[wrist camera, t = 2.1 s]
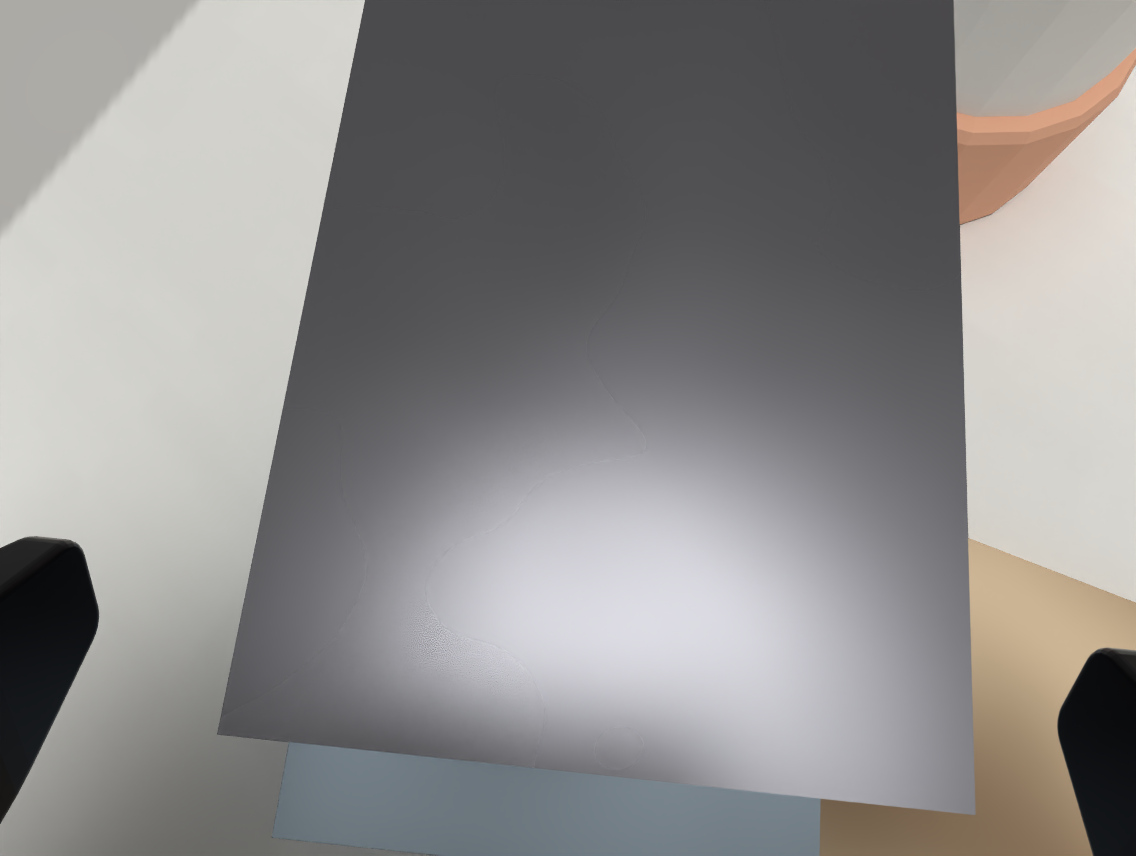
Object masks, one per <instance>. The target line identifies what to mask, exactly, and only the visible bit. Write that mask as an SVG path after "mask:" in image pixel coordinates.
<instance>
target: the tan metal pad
mask: <svg viewBox="0 0 1136 856" xmlns="http://www.w3.org/2000/svg"><path fill="white" fill-rule="evenodd" d="M968 554H969V591H970V628H971V665H972V702H973V739H974V777H975V814H976V815H970V814H960V813H951V812H942V811H932V810H923V809H913V808H904V807H895V806H885V805H876V804H866V803H857V802H848V801H838V800H829V799H821V801H820V854H819V856H1093V854H1092V851H1091V847H1090V844H1089V840H1088V837H1087V834H1086V830H1085V827H1084V823H1083V820H1082V817H1081V813H1080V810H1079V806H1078V803H1077V800H1076V796H1075V793H1074V789H1073V786H1072V783H1071V779H1070V776H1069V772H1068V769H1067V766H1066V762H1065V759H1064V755H1063V752H1062V749H1061V745H1060V742H1059V737H1058V730H1057V721H1058V715H1059V711H1060V708H1061V706H1062V704H1063V702H1064V700H1065V699H1066V697H1067V695H1068V693H1069V691H1070V690H1071V688H1072V686H1073V684H1074V682H1075V680H1076V679H1077V677H1078V675H1079V673H1080V671H1081V669H1082V668H1083V666H1084V664H1085V662H1086V660H1087V659H1088V657H1089V656H1090V654H1092V653H1093V652H1094V651H1096V650H1097V649H1100V648H1106V647H1109V648H1119V649H1128V650H1136V603H1135V602H1132V601H1130V600H1127V599H1125V598H1122V597H1119V596H1117V595H1114V594H1112V593H1109V592H1107V591H1104V590H1101V589H1099V588H1096V587H1094V586H1091V585H1088V584H1086V583H1083V582H1081V581H1078V580H1075V579H1073V578H1070V577H1068V576H1065V575H1063V574H1060V573H1057V572H1055V571H1052V570H1050V569H1047V568H1044V567H1042V566H1039V565H1037V564H1034V563H1031V562H1029V561H1026V560H1024V559H1021V558H1019V557H1016V556H1013V555H1011V554H1008V553H1006V552H1003V551H1000V550H998V549H995V548H993V547H990V546H987V545H985V544H982V543H980V542H977V541H974V540H972V539H969V538H968Z"/></svg>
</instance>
